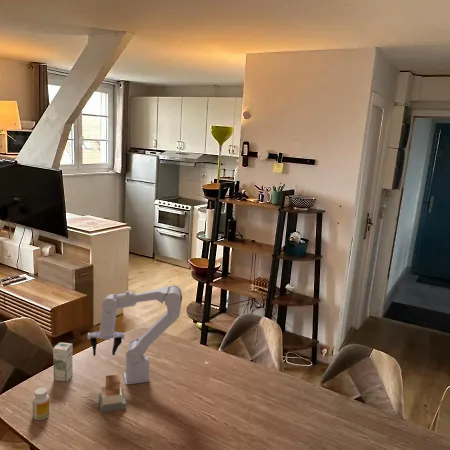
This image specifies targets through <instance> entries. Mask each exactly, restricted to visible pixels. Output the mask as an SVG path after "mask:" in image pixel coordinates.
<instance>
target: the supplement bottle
mask: <svg viewBox="0 0 450 450" xmlns="http://www.w3.org/2000/svg"><path fill="white" fill-rule="evenodd" d="M49 416H50V396H49V394H48V389H47V388H46V387H39V388H37V389H35V390H34V396H33V397H32V418H33V419H34V420H36V421H40V420H45V419H46V418H48V417H49Z"/></svg>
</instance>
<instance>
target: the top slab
mask: <svg viewBox="0 0 450 450" xmlns="http://www.w3.org/2000/svg"><path fill="white" fill-rule="evenodd" d="M105 387H106V386H102V387H101V392H100V393H101V395H102V404H103V405H107V404H114V403H121V402H122V391H121V390H122V388H121V387H122V386H121V385H120V394H115V395H106V388H105Z"/></svg>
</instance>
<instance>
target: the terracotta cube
mask: <svg viewBox="0 0 450 450" xmlns="http://www.w3.org/2000/svg"><path fill="white" fill-rule="evenodd" d="M120 386H121V378H120V374H112V375H105V386H104V387H105V388H106V395H115V394H120Z"/></svg>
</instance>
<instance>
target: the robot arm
mask: <svg viewBox="0 0 450 450" xmlns="http://www.w3.org/2000/svg"><path fill="white" fill-rule="evenodd" d="M149 301H158V302H159V303H161V304H162V305H163V304H165V306H166V309H167V311H166V312H164V314H163V315H162V316H160V318H159V319H158V320H157V321H156V322H155V323H154V324H153V325H151V327H150V328H149V329H147V330H146V331H145V332H144V334H143V335H139V336H138V337H137V338H134V339H133V340H131V341H130V342H129V345H128V348H127V352H126V354H125V372H124V373H123V376H124V382H125V384H126V385H132V384H140V383H141V384H142V383H147V382H148V383H149V382H150V359H149V357H148V356H144V354H145V353H146V352H147V350H148V349H149V347H150V346H152V344H153V343H154V342H155V341H157V339H158V338H159V337H161V335H162V334H163V333H164V332H165V331H166V330H167V329H168V328H170V326H171V325H172V324H173V323H175V322H176V320H178V318H180V313H181V308H182V302H183V295H182V289H181V288H180V287H179V286H178V285H170V286H169V285H168V286H163V287H159V288H156V289H152V290H148V291H143V292H138V293H135V292H134V291H130V290H126V291H125V292H124V293H118V294H117V293H114V294H113V293H111V294H107V295H106V297H105V298H104V299H103V301H102V303H101V308H102V312H101V318H100V327H99V331H93V332H88V333H87V340H89V341H90V345H91V347H92V355H93V356H96V352H97V351H96V350H97V344H98V343H97V342H98V341H97V340H98V339H103V340H105V341H110V340H111V339H113V346H112V353H111V354H112V356H116V355H115V354H116V351H117V350H118V348H119V347H120V345H121V344H122V342H123V341H122V340H124V339H125V336H126V335H125V332H122V331H121V332H119V331H115V327H116V322H117V321H116V319H117V309H119V310H120V309H125V308H129V307H134V306H136V305H137V304H138V303H141V302H142V303H144V302H149Z"/></svg>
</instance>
